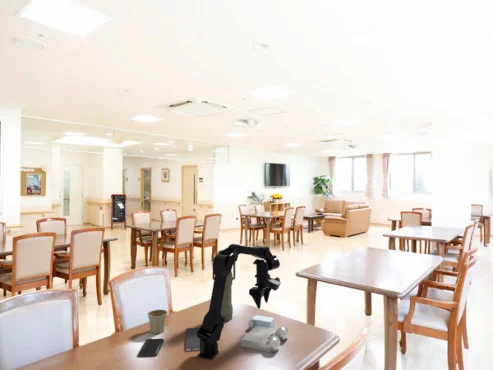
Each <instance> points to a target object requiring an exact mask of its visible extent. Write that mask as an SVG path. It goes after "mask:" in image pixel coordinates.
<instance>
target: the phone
mask: <svg viewBox="0 0 493 370" xmlns="http://www.w3.org/2000/svg"><path fill="white" fill-rule="evenodd" d="M164 342H165V341H164V338H148V339H146V340H145V341H144V343H143V345H142V346H141V348H140V350H139V351H138V353H137V357H138V358H149V357H150V358H152V357H154V358H155V357H158V355H159V353H160V351H161V349H162V346H163V344H164Z"/></svg>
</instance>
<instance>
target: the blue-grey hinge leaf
mask: <svg viewBox="0 0 493 370" xmlns="http://www.w3.org/2000/svg"><path fill="white" fill-rule="evenodd" d="M247 322H248V328H249V329H250V330H252V329H253V328H254V327H255V326H261V327H267V328H272V329H275V318H274V317H270V316H264V315H263V316H262V315H255V316H253V317H252V318H250V319H249V321H247Z"/></svg>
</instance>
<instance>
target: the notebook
mask: <svg viewBox="0 0 493 370" xmlns="http://www.w3.org/2000/svg"><path fill="white" fill-rule="evenodd" d="M200 327H201V326H200ZM200 327H199V326H198V327H187V328H185V351H186V352H188V351H189V352H190V351H191V352H192V351H200V338H198V337H197V334H196V333H197V332H198V330H199V328H200ZM208 334H209V333H208ZM210 335H211V334H210Z"/></svg>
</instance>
